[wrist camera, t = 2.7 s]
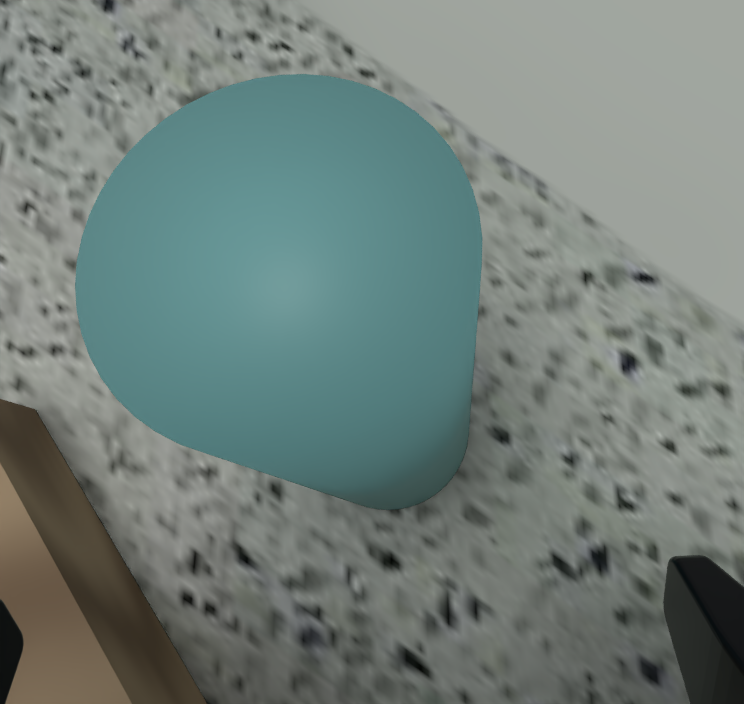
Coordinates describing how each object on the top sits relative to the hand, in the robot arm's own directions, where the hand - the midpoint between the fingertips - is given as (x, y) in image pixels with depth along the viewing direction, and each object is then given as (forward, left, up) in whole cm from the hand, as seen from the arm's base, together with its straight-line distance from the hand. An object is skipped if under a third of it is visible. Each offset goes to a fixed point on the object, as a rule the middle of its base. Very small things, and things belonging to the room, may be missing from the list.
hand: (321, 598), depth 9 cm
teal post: (+3, -2, -11) cm, 12 cm away
